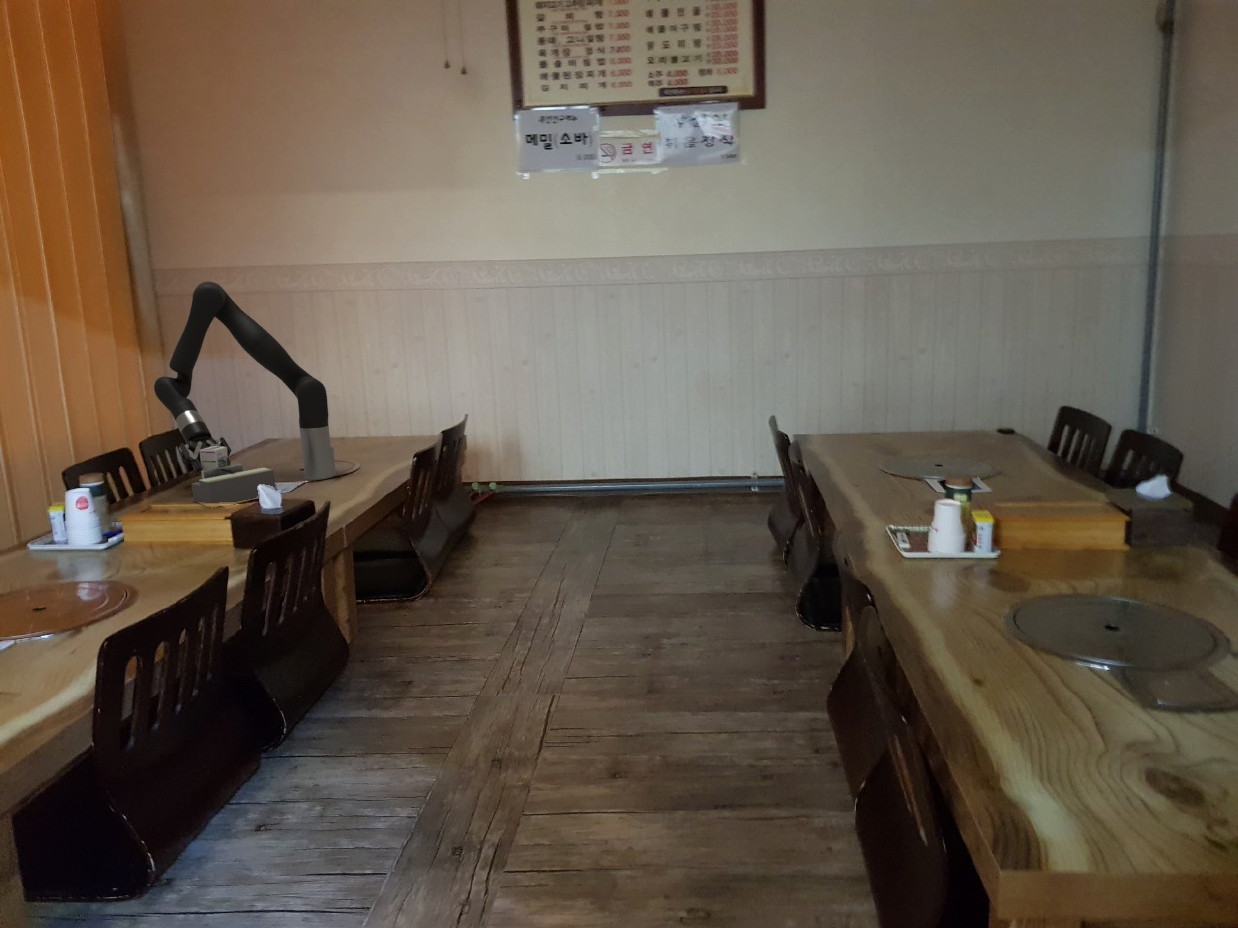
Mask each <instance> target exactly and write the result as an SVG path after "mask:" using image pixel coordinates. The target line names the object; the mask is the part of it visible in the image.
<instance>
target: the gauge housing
mask: <svg viewBox="0 0 1238 928" xmlns="http://www.w3.org/2000/svg"><path fill="white" fill-rule="evenodd" d="M259 484H265V485H270V486H273V487H275V488H276V481H275V471H274V469H273V468H268V467H260V468H259V467H258V468H253V469H250V470H243V472H238V473H232V474H227V475H222V476H217V477H212V478H206V479H202V478H201V479H198V481H196V482H192V483H191V490H192V491H191V492H192V499H193V502H194V501H195V502H194V503H196V502H205V503H219V502H238V501H243V500H248V499H253V498H256V497H257V496H258V490H257V486H258V485H259Z"/></svg>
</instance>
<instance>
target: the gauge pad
mask: <svg viewBox="0 0 1238 928" xmlns="http://www.w3.org/2000/svg"><path fill="white" fill-rule="evenodd" d="M243 469H244V467H243V464H242V463H239V462H238V463H234V464H230V465H228V466H223V467H217V468H212V469H207V470H201V479H206V478H212V477H217V476H222V475H227V474H232V473H238V472H243V471H244V470H243Z"/></svg>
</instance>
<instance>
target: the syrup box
mask: <svg viewBox="0 0 1238 928" xmlns="http://www.w3.org/2000/svg"><path fill="white" fill-rule="evenodd" d="M199 457H200V464H201V466H202V468H203V470H207V469H212V468H217V467H223V466H228V458H229V456H228V454H227V447H224V446H218V445H217V446H211V447H208V448H205V449H201V450H200V455H199Z"/></svg>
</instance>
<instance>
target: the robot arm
mask: <svg viewBox="0 0 1238 928" xmlns="http://www.w3.org/2000/svg"><path fill="white" fill-rule="evenodd" d="M214 318H215V319H217V320H218V321H220V323H222V324H223V325H224V326H225V328H226V329H228V331H229V333H230V334H231V335H232V336H233V339H235V340H236V342H237V343H238V344H239V346H240V347H241V348H242V349H243V350H244V351H245V352H246V353H247V354H248V355H249V356H250V357H251V358H253V360H254V361H256V362H257V363H258V364H260V366H262V367H263V368H264V369H266V370H267V371H269V372H270V373H271V374H273V375H274V376H275V377H277V378H278V379H279V380H280V381H281V382H282V383H283V384H285V386H286V387H287V388H288V389H289V391H291V392H292V394H293V395H294V396H295V398H296V400H297V406H298V407H297V408H298V425H299V434H300V435H299V436H300V444H301V453H302V455H301V456H302V464H303V471H304V473H303V475H304V479H305V480H309V481H310V480H311V481H316V480H317V481H318V480H320V481H321V480H325V479H329V478H333V477H335V476H337V470H336V460H335V449H334V448H333V446H331V445H332V444H331V434H330V426H329V404H328V394H327V390H326V386H325V385H324V384H323V382H322V381H320V380H318V379H317V378H315V377H314V376H313V375H311V374H310V373H308V372H307V371H306V370H304V368H302V367H301V366H300V365H298V364H297V363H296V361H295V360H294V359H293V358H292V357H291V355H290V354H289V352H287V350H286V349H285V347H284V346H282V344H281V343H280V342H279V341H278V340H277V339H276V338H275V337H274V336H272V334H271V333H269V332H268V330H266V329H265V328H264V327H263V326H262V325H260V324H259V323H258V322H257V321H256V320H255V319H254V318H252V317H251V316H250V315H249V314H247V313H246V312H245V311H244V310H242V309H241V307H240V306H239V305H238V304H237V303H236V302H235V301H234V300H233V299H232V298H231V297H230V295H229V294H228V293H227V291H226V290H225V289H224V288H223V287H222V286H221V285H220V284H219V283H216V282H214V281H203V282H201V283H200V284H198V285H197V286H196V287H195V289H194V291H193V292H192V300H191V305H190V310H189V315H188V318H187V321H186V323H185V326H184V329H183V331H182V334H181V335H180V338H179V340H178V341H177V344H176V346H175V349H174V351H173V354H172V356H171V358H170V360H169V365H168V366H169V369H170V370H172V371H174V372H175V373H176V375H177V377H170V376H161V377H158V378H157V379H156V380H155V381H154V385H153V389H154V393H155V395H156V398H157V399H158V400H159V401H160V402H161V403H162V405H163V406H164V407H165V408H166V409H167V410H168V411H169V412H170V413H171V414H172V416H173V418H174V419H173V420H174V421H175V422H176V426H177V428H178V430H179V432H180V434H181V436H182V438H183V439H184V441H185V443H186V444H184V443H180V444H179V446H178V447H179V448H178V451H179V454H180V456H181V458H182V461H183V463H184V464H185V465H187V464H191V465H192V466H193V468H194V470H195V471H196V472H197V473H198V474H200V473H201V470H203V468H202V466H201V461H200V460H199V459H198V457H199V456H200V450H201V449H205V448H208V447H211V446H224V447H227V454H228V465H231V463H232V462H231V460H230V458H229V457H230V455H231V453H232V449H231V447H230V445H229V444H228V442H227V440H226V439H225V438H224V437H223V436H221V437H220V438H219V439H214V438H213V436H212V433H211V432H210V430H209V428H208V426H207V424H206V422H205V420H204V419H203V417H202V415H201V414H200V413H199V411H198V409H197V407H196V406H195V404H194V402H193V400H191V399H190V398H188V397H189V395H190V393H191V389H192V381H193V372H194V368H195V366H196V364H197V361H198V358H199V355H200V353H201V350H202V347H203V344H204V340H205V337H206V334H207V332H208V330H209V328H210V325H211V323H212V322H213V321H214ZM188 450H189V451H191V452H192V453H193V455H192V456H190V454H189V452H188ZM201 474H202V473H201Z"/></svg>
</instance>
